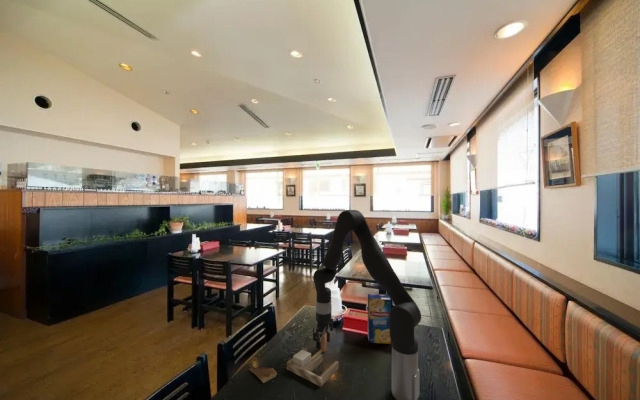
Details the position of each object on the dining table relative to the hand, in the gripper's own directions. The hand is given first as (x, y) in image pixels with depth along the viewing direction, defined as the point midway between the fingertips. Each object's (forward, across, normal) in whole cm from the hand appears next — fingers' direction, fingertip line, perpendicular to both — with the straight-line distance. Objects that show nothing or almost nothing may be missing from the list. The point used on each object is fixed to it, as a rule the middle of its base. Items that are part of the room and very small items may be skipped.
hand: (323, 344), depth 120 cm
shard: (+3, -30, +10) cm, 31 cm away
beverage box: (+3, +24, -18) cm, 31 cm away
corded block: (+2, -9, 0) cm, 9 cm away
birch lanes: (+2, -14, -4) cm, 15 cm away
